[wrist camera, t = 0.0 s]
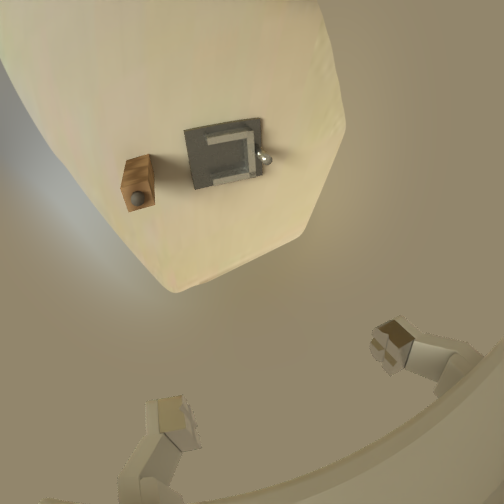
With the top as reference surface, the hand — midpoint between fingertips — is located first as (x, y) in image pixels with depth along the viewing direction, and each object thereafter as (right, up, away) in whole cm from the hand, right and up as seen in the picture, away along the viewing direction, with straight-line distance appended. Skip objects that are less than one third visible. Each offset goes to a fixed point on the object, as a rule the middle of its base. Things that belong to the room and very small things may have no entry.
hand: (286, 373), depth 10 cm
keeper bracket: (-7, +26, +47) cm, 54 cm away
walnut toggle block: (-25, +23, +43) cm, 54 cm away
